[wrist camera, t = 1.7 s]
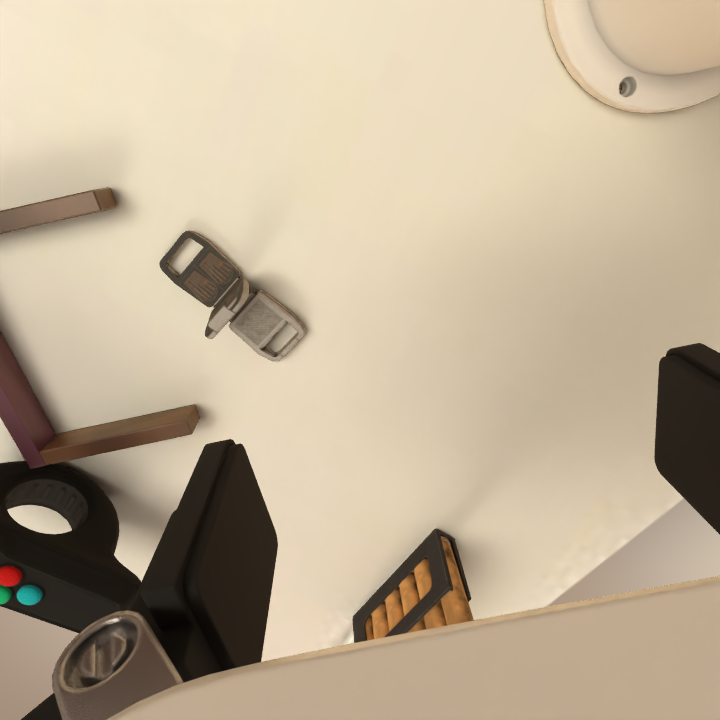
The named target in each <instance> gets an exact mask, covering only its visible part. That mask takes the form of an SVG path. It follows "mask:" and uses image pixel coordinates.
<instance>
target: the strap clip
mask: <svg viewBox="0 0 720 720" xmlns="http://www.w3.org/2000/svg"><path fill="white" fill-rule="evenodd" d="M188 238H192V239H193V240H195V241H196V242H197V243H199V244H200V245H202V246H203V249H202V250H201V251H200V252H199V253H198V255H197V256H196V257H195V258H194V259H193V261H192V262H191V263H190V264H189V265H188V267H187V268H186V269H185V270H184V271H183V273H182V274H181V275H180V276H179V275H178V274H177V273H176V272H175V271H174V270H173V269H172V268H171V267H169V265H168V263H169V261H170V259H171V258H172V257H173V256H174V255H175V253H176V252H177V251H178V250H179V248H180V247H181V246H182V245H183V244H184V242H185V241H186V240H187V239H188ZM160 267H161V269H162V271H163V272H164V273H165V274H166V275H167V276H168V277H169V278H170V279H171V280H172V281H173V282H174V283H175V284H176V285H178V286H179V287H181V288H182V289H183V290H185V291H186V292H188V293H189V294H190V295H192V296H193V297H195V298H196V299H197V300H199V301H200V302H201V303H203V304H204V305H206V306H207V307H212V306H213V305H214V309H213V311H212V312H211V315H210V318H209V321H208V324H207V327H206V330H205V336H206V337H207V338H209V339H213V338H214V337H215V336H216V335H217V334H218V332H219V331H220V330H221V329H222V328H223V327H224V326H225V325H226V324H227V322H228V321H230V322H231V323H230V325H229V327H230V329H231V330H232V331H233V332H235V333H236V334H237V335H238V336H239V337H240V338H241V339H242V340H243V341H245V342H246V343H247V344H248V345H249V346H250V347H251V348H252V349H253V350H255V351H256V352H257V353H258V354H259V355H261V356H263V357H265V358H267V359H269V360H271V361H275V362H277V361H280V360H281V359H282V358H283V357H284V356H285V355H286V354H287V353H288V352H289V351H290V350H291V349H292V348H293V347H294V346H295V345H296V344H297V343H298V342H299V341H300V339H301V338H302V337H303V336H304V334H305V329H304V326H303V325H302V323H301V322H300V321H299V320H298V318H297V317H296V316H295V315H294V314H293V313H292V312H291V311H289V310H288V309H287V308H285V307H284V306H283V305H282V304H280V303H279V302H278V301H276V300H275V299H274V298H272V297H271V296H270V295H268V294H267V293H266V292H264V291H263V290H259V291H258V292H256V291H255V290H254V289H253V290H252V292H251V293H250V294H249V283H248V281H247V280H245V279H244V278H243V277H242V278H240V277H239V275H240V270H239V269H238V268H237V267H236V266H235V265H234V264H233V263H232V262H231V261H230V260H229V259H228V258H226V257H225V256H224V255H223V254H222V253H221V252H220V251H219V250H218V249H217V248H216V247H215V246H214V245H213V244H212V243H211V242H210V241H208V240H207V239H205V238H203V237H202V236H200V235H198V234H197V233H195V232H192V231H186V232H184V233H183V234H182V235H181V236H180V237H179V239H178V240H177V241H176V242H175V244H174V245H173V246H172V248H171V249H170V250H169V251H168V252H167V253H166V255H165V256H164V257H163V258H162V259H161V261H160ZM287 322H289V323H290V324H291V325H292V326H293V327H294V328H295V329H296V330H297V331H298V332H297V333H296V334H295V336H294V337H293V338H292V339H291V340H290V341H289V342H288V343H287V344H286V345H285V346H284V347H283V348H282V349H281V350H280V351H279V352H277V353H276V352H274V351H272V350H271V349H270V348H268V347H267V346H266V345H267V344H268V343H269V342H270V340H271V339H272V338H273V337H274V336H275V335H276V334H277V333H278V332H279V331H280V330H281V329H282V328H283V327H284V326H285V325H286V323H287Z"/></svg>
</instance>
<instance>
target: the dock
mask: <svg viewBox="0 0 720 720" xmlns="http://www.w3.org/2000/svg"><path fill="white" fill-rule="evenodd" d="M116 207H117V205H116V202H115V199H114V197H113V194H112V192H111V189H110V188H103V189H96V190H91V191H86V192H82V193H77V194H73V195H68V196H64V197H60V198H55V199H51V200H46V201H42V202H38V203H33V204H29V205H24V206H20V207H16V208H11V209H7V210H2V211H0V234H2V233H7V232H11V231H16V230H20V229H25V228H29V227H33V226H38V225H42V224H47V223H51V222H56V221H60V220H65V219H69V218H73V217H78V216H82V215H87V214H91V213H96V212H100V211H104V210H108V209H112V208H116ZM0 417H1V419H2V421H3V422H4V424H5V426H6V428H7V429H8V431H9V433H10V434H11V436H12V438H13V440H14V441H15V443H16V445H17V446H18V448H19V450H20V452H21V453H22V455H23V457H24V459H25V460H26V462H27V464H28V465H29V467H30V468H36V467H41V466H45V465H49V464H54V463H59V462H64V461H68V460H73V459H78V458H82V457H87V456H92V455H96V454H101V453H106V452H111V451H115V450H120V449H125V448H129V447H134V446H139V445H143V444H148V443H153V442H158V441H162V440H167V439H172V438H176V437H181V436H186V435H190V434H192V433H193V431H194V429H195V427H196V425H197V423H198V421H199V419H200V416H199V413H198V411H197V408H196V406H195V405H190V406H186V407H181V408H176V409H172V410H167V411H162V412H158V413H153V414H148V415H144V416H139V417H134V418H130V419H125V420H120V421H116V422H111V423H106V424H102V425H97V426H92V427H88V428H83V429H78V430H74V431H69V432H64V433H60V434H55V432H54V430H53V428H52V426H51V424H50V423H49V421H48V419H47V417H46V415H45V413H44V411H43V410H42V408H41V406H40V404H39V402H38V400H37V398H36V397H35V395H34V393H33V391H32V389H31V387H30V385H29V384H28V382H27V380H26V378H25V376H24V374H23V372H22V371H21V369H20V367H19V365H18V363H17V361H16V359H15V358H14V356H13V354H12V352H11V350H10V348H9V346H8V345H7V343H6V341H5V339H4V337H3V335H2V333H1V332H0Z"/></svg>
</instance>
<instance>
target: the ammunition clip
mask: <svg viewBox="0 0 720 720" xmlns="http://www.w3.org/2000/svg"><path fill="white" fill-rule="evenodd" d="M470 600H471V596H470V592H469V588H468V585H467V581H466V578H465V574H464V571H463V567H462V563H461V560H460V556H459V553H458V549H457V545H456V542H455V539H454V538H452V537H450V536H448V535H446V534H444V533H443V532H441V531H439V530H436V529H435V530H434V531H433V532H432V533H431V534H430V535H429V536H428V537H427V538H426V539H425V540H424V541H423V542H422V544H421V545H420V546H419V547H418V548H417V549H416V550H415V551H414V552H413V553H412V554H411V555H410V556H409V557H408V559H407V560H406V561H405V562H404V563H403V564H402V565H401V566H400V567H399V568H398V569H397V570H396V571H395V572H394V574H393V575H392V576H391V577H390V578H389V579H388V580H387V581H386V582H385V583H384V584H383V585H382V586H381V587H380V589H379V590H378V591H377V592H376V593H375V594H374V595H373V596H372V597H371V598H370V599H369V600H368V601H367V602H366V603H365V605H364V606H363V607H362V608H361V609H360V610H359V611H358V612H357V613H356V614H355V615H354V616H353V631H354V643H358V642H363V641H368V640H373V639H379V638H384V637H389V636H395V635H400V634H405V633H410V632H416V631H421V630H426V629H432V628H437V627H442V626H447V625H453V624H458V623H463V622H469V621H474V620H473V617H472V613H471V610H470V607H469V603H468V602H469V601H470Z"/></svg>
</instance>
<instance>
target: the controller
mask: <svg viewBox="0 0 720 720" xmlns="http://www.w3.org/2000/svg"><path fill="white" fill-rule="evenodd" d="M21 505H38V506H44V507H47V508H50V509H52V510H54V511H57V512H58V513H59V514H61V515H62V516H63V517H64V518H65V519H66V520H67V521H68V522H69V524H70V526H71V528H72V531H70V532H67V533H63V534H44V533H39V532H36V531H33V530H30V529H28V528H26V527H24V526H21V525H20V524H18V523H17V522H16V521H15V520H14V519H13V518H12V517H11V516H10V515H9V513H8V511H7V509H10V508H13V507H16V506H21ZM118 537H119V521H118V517H117V513H116V510H115V508H114V506H113V504H112V502H111V501H110V499H109V498H108V497H107V495H106V494H105V493H104V492H103V491H102V490H101V489H100V488H99V487H98V486H97V485H96V484H95V483H93V482H92V481H91V480H89V479H88V478H86V477H84V476H83V475H81V474H79V473H77V472H75V471H73V470H71V469H68V468H65V467H61V466H58V465H54V464H49V465H45V466H41V467H36V468H30V467H29V465H28V464H27V462H26V461H17V462H7V463H0V606H2V607H5V608H8V609H10V610H13V611H16V612H19V613H22V614H25V615H28V616H31V617H33V618H37V619H40V620H42V621H45V622H48V623H51V624H54V625H57V626H60V627H63V628H66V629H68V630H71V631H74V632H77V633H81V632H82V631H83V630H84V629H85V628H87V627H88V626H89V625H91V624H92V623H94V622H96V621H97V620H99V619H101V618H102V617H104V616H107V615H110V614H113V613H115V612H120V611H129V609H130V607H131V605H132V603H133V600H134V598H135V596H136V594H137V591H138V589H139V587H140V585H141V581H140V580H139V578H138V577H137V576H136V575H135V574H133V573H132V572H131V571H130V570H128V569H127V568H126V567H125V566H123V565H122V564H121V563H120V562H119V561H118V560H117V559H116V558H115V556H114V552H115V549H116V546H117V541H118Z"/></svg>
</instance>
